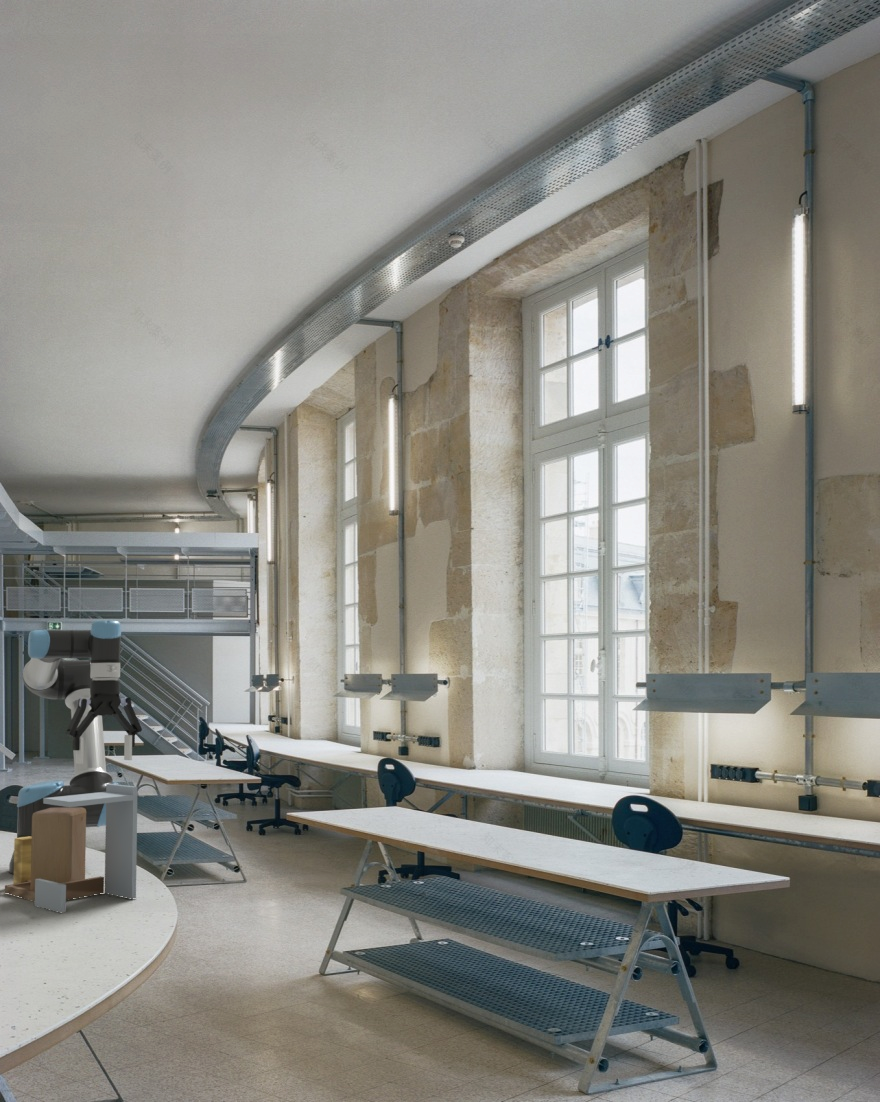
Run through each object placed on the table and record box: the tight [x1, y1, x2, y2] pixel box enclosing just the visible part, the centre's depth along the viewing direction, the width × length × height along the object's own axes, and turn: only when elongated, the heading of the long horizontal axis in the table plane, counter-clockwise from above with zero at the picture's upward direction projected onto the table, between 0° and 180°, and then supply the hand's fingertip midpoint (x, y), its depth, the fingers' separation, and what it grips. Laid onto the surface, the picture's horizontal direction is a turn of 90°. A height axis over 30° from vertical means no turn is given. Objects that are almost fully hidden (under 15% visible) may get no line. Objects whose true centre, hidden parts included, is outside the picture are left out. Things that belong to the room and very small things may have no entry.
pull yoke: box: [4, 836, 105, 902], centre depth 270 cm, size 26×15×12 cm, turn 48°
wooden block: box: [30, 807, 87, 891], centre depth 267 cm, size 10×10×20 cm
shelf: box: [34, 784, 138, 913], centre depth 258 cm, size 12×19×26 cm, turn 138°
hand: (104, 761), depth 287 cm, fingers open, 13 cm apart
